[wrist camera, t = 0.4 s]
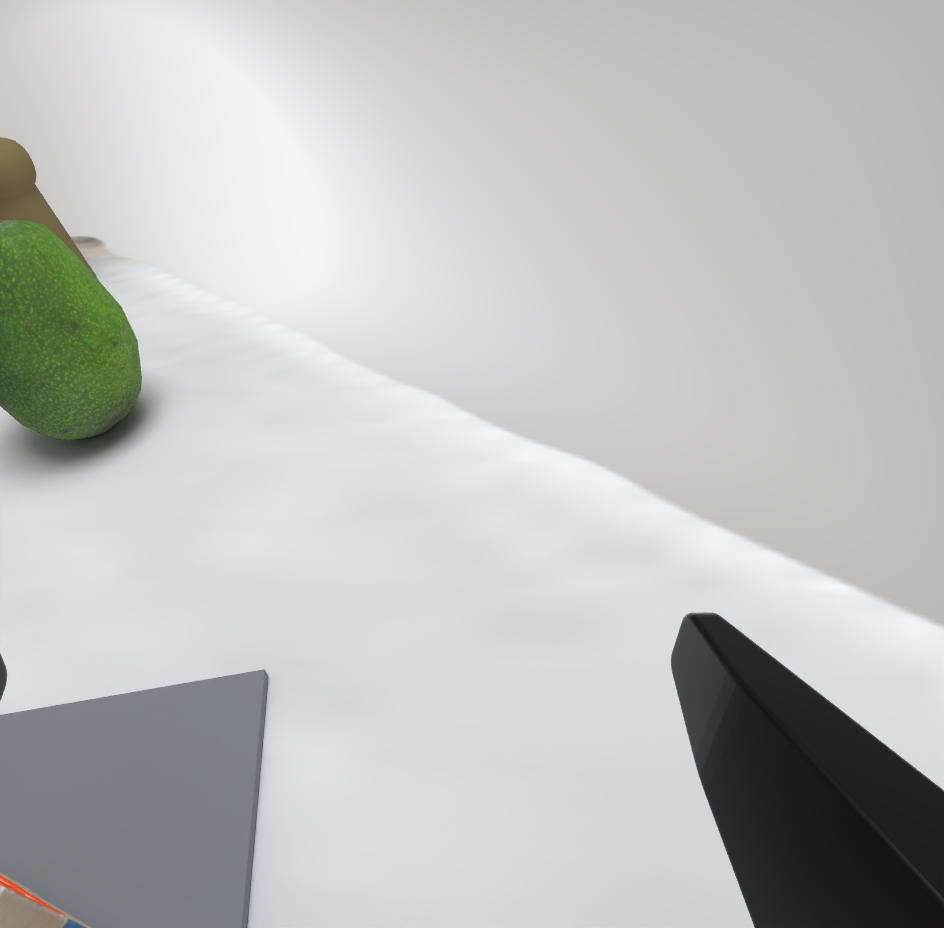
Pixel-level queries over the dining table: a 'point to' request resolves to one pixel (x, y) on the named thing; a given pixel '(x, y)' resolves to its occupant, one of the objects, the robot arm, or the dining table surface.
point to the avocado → (61, 339)
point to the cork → (26, 194)
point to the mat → (137, 803)
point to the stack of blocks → (30, 909)
